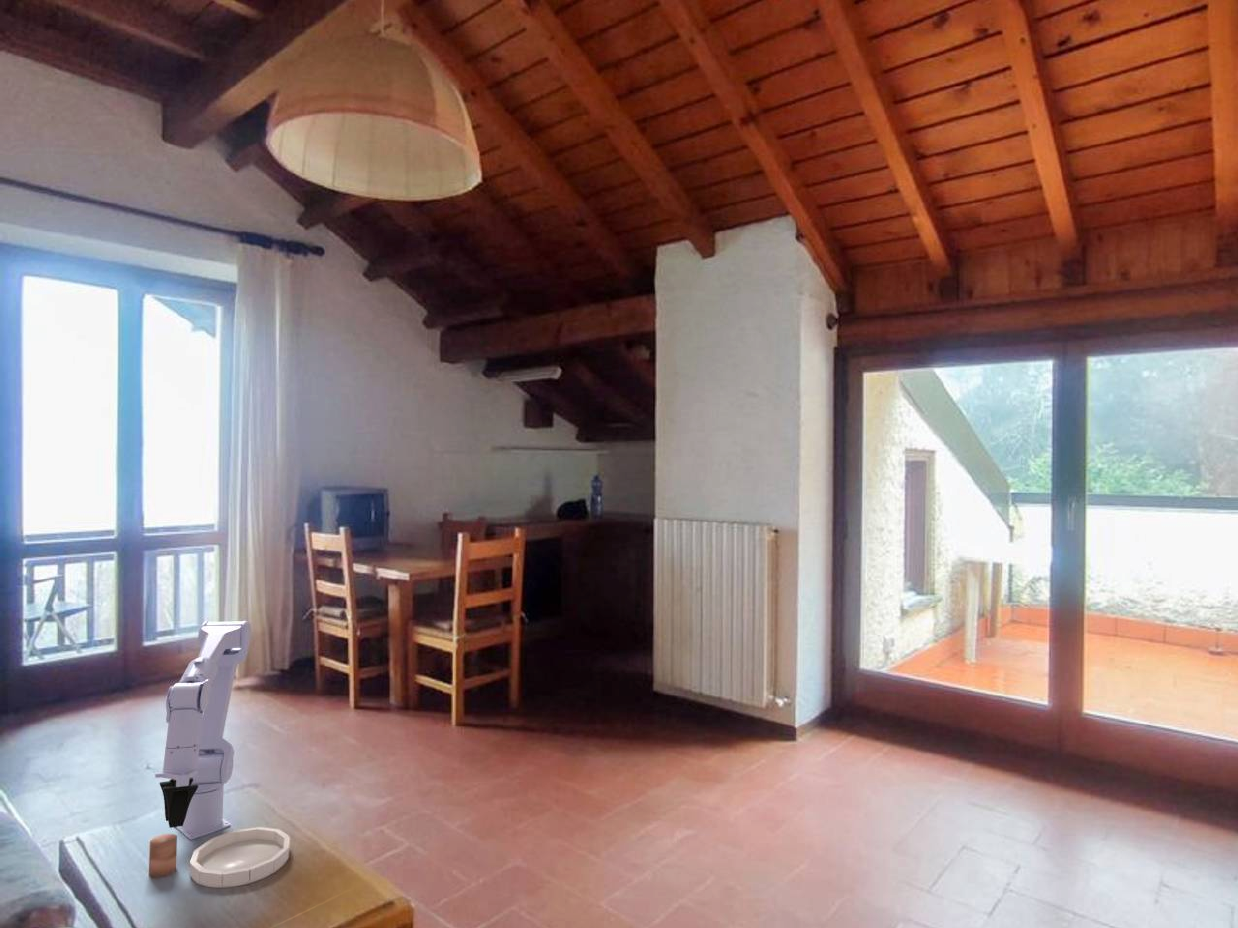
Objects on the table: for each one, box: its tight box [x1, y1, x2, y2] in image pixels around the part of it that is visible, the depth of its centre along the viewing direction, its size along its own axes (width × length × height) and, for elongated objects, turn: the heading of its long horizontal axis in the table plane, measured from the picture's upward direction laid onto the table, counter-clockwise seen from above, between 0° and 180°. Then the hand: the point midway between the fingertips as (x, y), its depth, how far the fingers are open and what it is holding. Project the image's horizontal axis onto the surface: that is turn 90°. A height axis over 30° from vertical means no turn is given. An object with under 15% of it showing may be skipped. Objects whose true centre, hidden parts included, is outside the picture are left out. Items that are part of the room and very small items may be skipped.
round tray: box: [188, 826, 291, 889], centre depth 141 cm, size 17×17×3 cm
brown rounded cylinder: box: [148, 833, 178, 879], centre depth 138 cm, size 4×4×6 cm
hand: (174, 823), depth 137 cm, fingers open, 7 cm apart
